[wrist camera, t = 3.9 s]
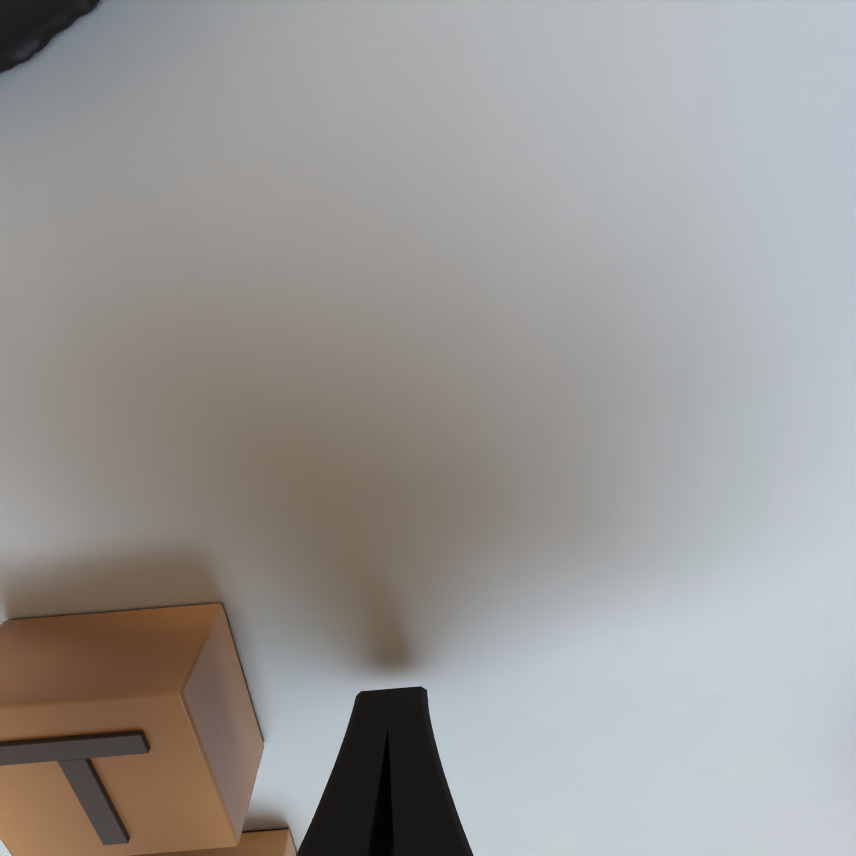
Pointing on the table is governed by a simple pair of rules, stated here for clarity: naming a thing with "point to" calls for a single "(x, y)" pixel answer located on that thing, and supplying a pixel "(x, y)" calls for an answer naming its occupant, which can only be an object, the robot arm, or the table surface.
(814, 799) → the table surface
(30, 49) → the dark sector wedge
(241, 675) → the t tile
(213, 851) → the l tile
